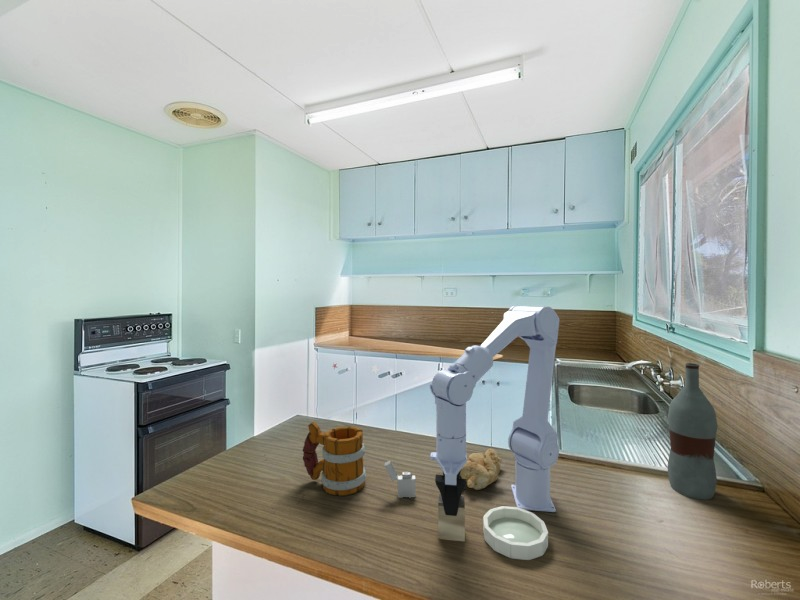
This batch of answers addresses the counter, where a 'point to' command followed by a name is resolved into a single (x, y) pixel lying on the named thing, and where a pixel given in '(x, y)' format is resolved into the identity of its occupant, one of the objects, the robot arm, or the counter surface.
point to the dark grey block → (451, 522)
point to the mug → (336, 459)
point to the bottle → (692, 440)
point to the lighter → (402, 481)
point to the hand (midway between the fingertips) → (451, 502)
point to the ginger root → (481, 469)
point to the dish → (515, 532)
